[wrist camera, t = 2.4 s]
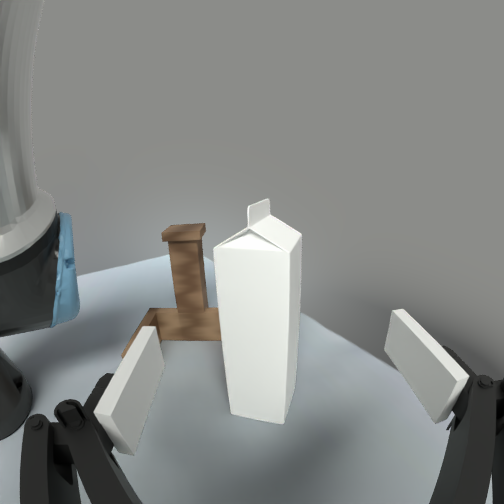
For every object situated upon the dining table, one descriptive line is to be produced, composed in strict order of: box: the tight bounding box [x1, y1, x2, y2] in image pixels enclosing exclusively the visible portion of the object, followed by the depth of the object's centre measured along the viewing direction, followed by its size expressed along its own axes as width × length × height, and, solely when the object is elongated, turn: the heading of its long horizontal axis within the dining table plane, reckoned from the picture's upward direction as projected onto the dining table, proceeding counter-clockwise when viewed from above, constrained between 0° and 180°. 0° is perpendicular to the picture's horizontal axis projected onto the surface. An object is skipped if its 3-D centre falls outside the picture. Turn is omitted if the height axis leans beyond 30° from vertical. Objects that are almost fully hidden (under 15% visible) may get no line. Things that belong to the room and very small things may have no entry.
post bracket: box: [121, 223, 228, 390], centre depth 35 cm, size 14×16×17 cm
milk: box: [213, 198, 302, 425], centre depth 25 cm, size 6×6×22 cm
